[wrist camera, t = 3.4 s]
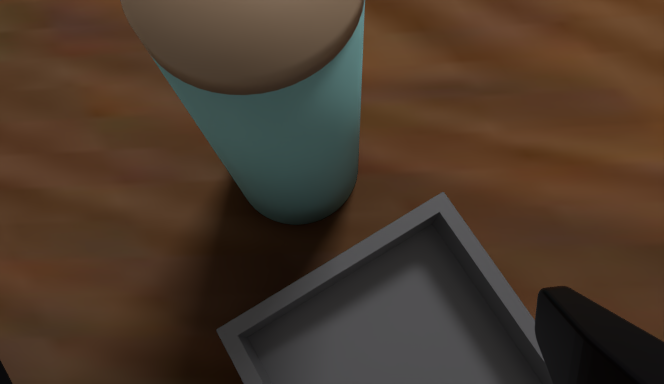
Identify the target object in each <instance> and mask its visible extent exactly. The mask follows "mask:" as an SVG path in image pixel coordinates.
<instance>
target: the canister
mask: <svg viewBox="0 0 664 384" xmlns="http://www.w3.org/2000/svg"><path fill="white" fill-rule="evenodd" d="M120 1H121V4H122V8H123V11H124V13H125V15H126V18H127V20H128V22H129V24H130V25H131V27H132V28H133V30H134V31H135V33H136V34H137V36H138V37H139V39H140V40H141V42H142V43H143V45H144V46H145V48H146V49H147V51H148V52H149V54H150V55H151V57H152V58H153V60H154V61H155V63H156V64H157V66H158V67H159V69H160V70H161V72H162V73H163V75H164V76H165V78H166V79H167V81H168V82H169V84H170V85H171V87H172V88H173V90H174V91H175V93H176V94H177V96H178V97H179V99H180V100H181V101H182V103H183V104H184V106H185V107H186V109H187V110H188V112H189V113H190V115H191V116H192V118H193V119H194V121H195V122H196V124H197V125H198V127H199V128H200V130H201V131H202V133H203V134H204V136H205V137H206V139H207V140H208V142H209V143H210V145H211V146H212V148H213V149H214V151H215V152H216V154H217V155H218V157H219V158H220V160H221V161H222V163H223V164H224V166H225V167H226V169H227V170H228V172H229V173H230V175H231V176H232V178H233V179H234V181H235V182H236V184H237V185H238V187H239V188H240V190H241V191H242V193H243V194H244V196H245V197H246V199H247V200H248V201H249V203H250V204H251V205H252V206H253V207H254V208H255V209H256V210H257V211H258V212H259V213H261V214H262V215H264V216H265V217H267V218H269V219H271V220H274V221H277V222H280V223H284V224H292V225H300V224H308V223H313V222H316V221H319V220H322V219H324V218H326V217H327V216H329V215H331V214H332V213H334V212H335V211H336V210H337V209H339V208H340V207H341V206H342V205H343V204H344V202H345V201H346V200H347V199H348V197H349V196H350V194H351V192H352V190H353V188H354V186H355V183H356V180H357V174H358V157H359V132H360V107H361V82H362V57H363V32H364V7H365V0H120Z"/></svg>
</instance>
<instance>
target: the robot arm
mask: <svg viewBox="0 0 664 384" xmlns="http://www.w3.org/2000/svg"><path fill="white" fill-rule="evenodd" d="M535 336H536V340H537V343H538V345H539V348H540V351H541V353H542V356H543V359H544V362H545V364H546V367H547V370H548V372H549V375H550V378H551V380H552V383H553V384H664V342H663V341H661V340H660V339H658V338H656V337H654V336H653V335H651V334H649V333H647V332H646V331H644V330H642V329H640V328H639V327H637V326H635V325H633V324H632V323H630V322H628V321H626V320H625V319H623V318H621V317H619V316H618V315H616V314H614V313H613V312H611V311H609V310H607V309H606V308H604V307H602V306H600V305H599V304H597V303H595V302H593V301H592V300H590V299H588V298H586V297H585V296H583V295H581V294H579V293H578V292H576V291H574V290H572V289H571V288H569V287H566V286H557V287H547V288H543V289H541V290H540V291H539V294H538V299H537V308H536V318H535ZM0 384H12V382H11V380H10V378H9V376H8V374H7V372H6V370H5V368H4V366H3V364H2V363H1V361H0Z"/></svg>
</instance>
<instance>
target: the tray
mask: <svg viewBox="0 0 664 384" xmlns="http://www.w3.org/2000/svg"><path fill="white" fill-rule="evenodd" d="M216 331H217V333H218V335H219V337H220V339H221V341H222V343H223V345H224V346H225V348H226V350H227V352H228V354H229V356H230V358H231V360H232V362H233V364H234V366H235V368H236V370H237V371H238V373H239V375H240V377H241V379H242V381H243V383H244V384H553V383H552V380H551V378H550V375H549V372H548V370H547V367H546V364H545V362H544V359H543V356H542V353H541V351H540V348H539V345H538V343H537V340H536V336H535V320H534V319H533V317H532V316H531V315H530V313H529V312H528V310H527V309H526V307H525V306H524V305H523V303H522V302H521V300H520V299H519V298H518V296H517V295H516V293H515V292H514V291H513V289H512V288H511V286H510V285H509V283H508V282H507V281H506V279H505V278H504V276H503V275H502V274H501V272H500V271H499V269H498V268H497V267H496V265H495V264H494V262H493V261H492V260H491V258H490V257H489V255H488V254H487V252H486V251H485V250H484V248H483V247H482V245H481V244H480V243H479V241H478V240H477V238H476V237H475V236H474V234H473V233H472V231H471V230H470V228H469V227H468V226H467V224H466V223H465V221H464V220H463V219H462V217H461V216H460V214H459V213H458V212H457V210H456V209H455V207H454V206H453V204H452V203H451V202H450V200H449V199H448V197H447V196H446V195H445V193H444V192H442V193H440V194H439V195H437V196H435V197H434V198H432V199H430V200H429V201H427V202H425V203H424V204H422V205H420V206H419V207H417V208H416V209H414V210H412V211H411V212H409V213H407V214H406V215H404V216H402V217H401V218H399V219H397V220H396V221H394V222H393V223H391V224H389V225H388V226H386V227H384V228H383V229H381V230H379V231H378V232H376V233H374V234H373V235H371V236H369V237H368V238H366V239H365V240H363V241H361V242H360V243H358V244H356V245H355V246H353V247H351V248H350V249H348V250H346V251H345V252H343V253H341V254H340V255H338V256H337V257H335V258H333V259H332V260H330V261H328V262H327V263H325V264H323V265H322V266H320V267H318V268H317V269H315V270H314V271H312V272H310V273H309V274H307V275H305V276H304V277H302V278H300V279H299V280H297V281H295V282H294V283H292V284H290V285H289V286H287V287H286V288H284V289H282V290H281V291H279V292H277V293H276V294H274V295H272V296H271V297H269V298H267V299H266V300H264V301H262V302H261V303H259V304H258V305H256V306H254V307H253V308H251V309H249V310H248V311H246V312H244V313H243V314H241V315H239V316H238V317H236V318H235V319H233V320H231V321H230V322H228V323H226V324H225V325H223V326H221V327H220V328H218V329H216Z"/></svg>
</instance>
